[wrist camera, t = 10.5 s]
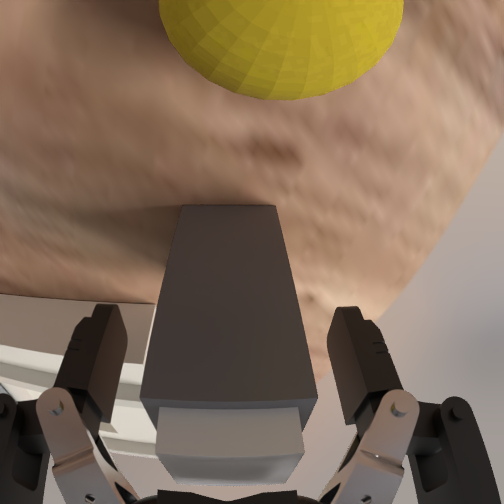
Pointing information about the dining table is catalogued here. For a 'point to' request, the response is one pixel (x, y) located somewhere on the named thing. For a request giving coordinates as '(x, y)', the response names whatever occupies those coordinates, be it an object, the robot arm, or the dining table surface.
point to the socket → (53, 350)
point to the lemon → (281, 42)
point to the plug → (228, 352)
